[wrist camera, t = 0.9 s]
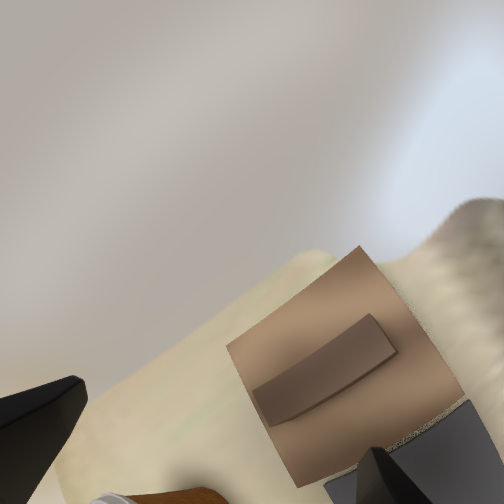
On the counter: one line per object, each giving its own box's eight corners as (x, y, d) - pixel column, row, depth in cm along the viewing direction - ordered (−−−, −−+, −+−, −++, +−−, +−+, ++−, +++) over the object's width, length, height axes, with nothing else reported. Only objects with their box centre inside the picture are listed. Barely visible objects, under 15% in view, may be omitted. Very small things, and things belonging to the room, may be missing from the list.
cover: (462, 392, 13) (474, 399, 10) (303, 483, 15) (277, 504, 12) (362, 250, 20) (348, 226, 17) (233, 347, 22) (199, 341, 19)
